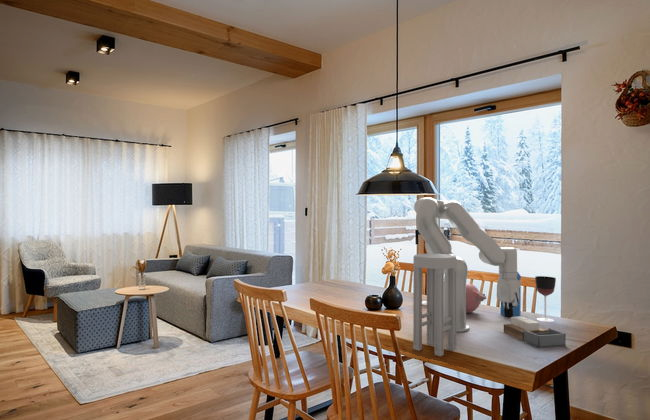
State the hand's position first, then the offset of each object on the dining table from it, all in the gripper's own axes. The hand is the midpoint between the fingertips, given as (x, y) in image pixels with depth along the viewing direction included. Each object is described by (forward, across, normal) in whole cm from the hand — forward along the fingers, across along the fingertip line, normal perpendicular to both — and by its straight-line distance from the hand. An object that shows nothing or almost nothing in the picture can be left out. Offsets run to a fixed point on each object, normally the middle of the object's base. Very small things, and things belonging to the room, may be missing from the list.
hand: (508, 317), depth 191 cm
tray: (+5, +22, 0) cm, 23 cm away
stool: (+4, +19, -46) cm, 49 cm away
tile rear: (+1, +8, 0) cm, 8 cm away
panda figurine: (+5, -53, -10) cm, 54 cm away
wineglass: (+6, -9, +26) cm, 29 cm away
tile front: (+1, +14, 0) cm, 14 cm away
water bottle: (+5, -21, +16) cm, 27 cm away
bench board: (+5, +11, 0) cm, 12 cm away
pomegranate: (+5, -28, -2) cm, 29 cm away
